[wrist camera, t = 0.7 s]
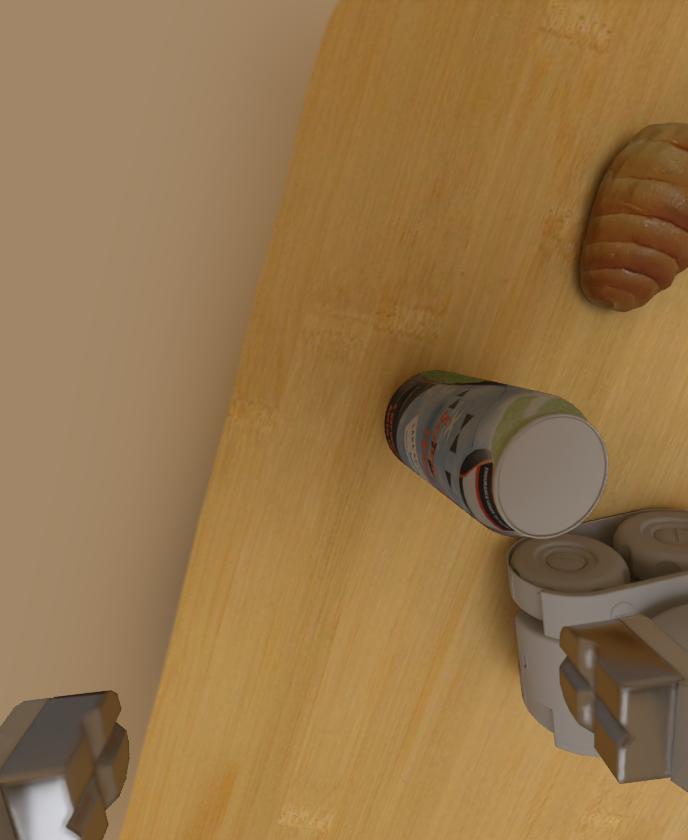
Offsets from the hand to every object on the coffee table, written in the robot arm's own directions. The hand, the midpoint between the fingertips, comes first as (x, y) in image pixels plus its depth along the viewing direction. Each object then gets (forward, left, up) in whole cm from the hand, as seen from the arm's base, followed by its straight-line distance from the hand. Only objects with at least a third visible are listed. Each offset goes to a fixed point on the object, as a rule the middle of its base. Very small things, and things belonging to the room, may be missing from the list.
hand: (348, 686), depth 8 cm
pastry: (-7, +22, -20) cm, 30 cm away
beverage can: (+1, +8, -20) cm, 22 cm away
